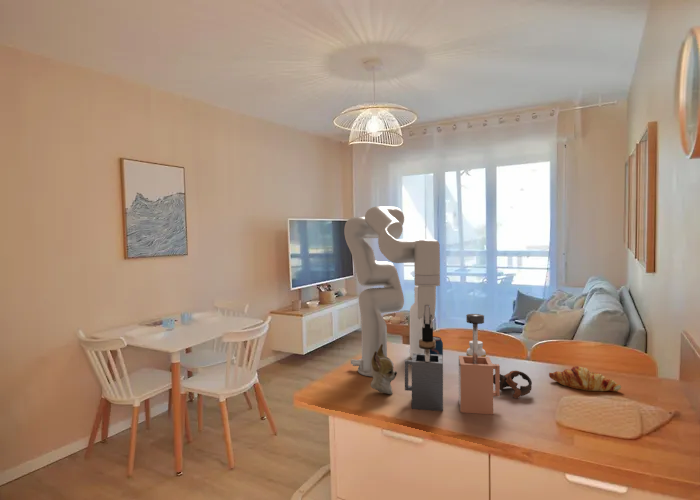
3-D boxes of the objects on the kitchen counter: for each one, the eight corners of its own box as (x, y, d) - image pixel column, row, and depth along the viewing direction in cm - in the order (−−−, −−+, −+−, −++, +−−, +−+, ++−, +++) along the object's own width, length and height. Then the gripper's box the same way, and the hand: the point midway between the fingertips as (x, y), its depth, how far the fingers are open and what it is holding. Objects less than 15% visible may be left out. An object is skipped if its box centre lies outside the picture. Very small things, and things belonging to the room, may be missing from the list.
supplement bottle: (483, 374, 152) (483, 339, 152) (487, 380, 145) (487, 344, 145) (465, 374, 153) (465, 339, 152) (468, 380, 146) (468, 344, 146)
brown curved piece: (524, 389, 139) (533, 372, 134) (526, 411, 131) (536, 394, 126) (487, 378, 141) (495, 361, 136) (488, 399, 133) (496, 382, 128)
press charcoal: (404, 408, 123) (403, 361, 122) (405, 396, 132) (405, 353, 131) (442, 410, 121) (442, 363, 120) (442, 399, 129) (442, 354, 129)
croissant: (619, 400, 136) (619, 375, 139) (622, 395, 128) (622, 369, 131) (548, 387, 147) (550, 365, 150) (547, 382, 139) (548, 358, 142)
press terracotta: (460, 412, 120) (460, 364, 119) (458, 400, 128) (458, 355, 128) (501, 415, 117) (501, 366, 117) (496, 402, 126) (496, 357, 126)
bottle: (409, 354, 179) (408, 285, 178) (427, 354, 178) (427, 285, 177) (410, 359, 171) (409, 287, 170) (429, 360, 170) (429, 287, 169)
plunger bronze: (417, 402, 124) (417, 342, 123) (418, 395, 129) (417, 337, 129) (437, 404, 122) (437, 343, 122) (437, 396, 128) (436, 338, 128)
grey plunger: (465, 378, 121) (465, 317, 120) (464, 372, 126) (464, 313, 126) (486, 380, 120) (486, 317, 119) (484, 373, 125) (484, 313, 125)
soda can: (422, 370, 157) (422, 339, 157) (426, 365, 163) (426, 335, 163) (441, 372, 154) (441, 340, 154) (444, 367, 161) (444, 336, 160)
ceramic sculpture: (394, 401, 128) (393, 353, 128) (366, 398, 131) (366, 351, 130) (400, 388, 138) (399, 344, 138) (374, 386, 141) (374, 342, 140)
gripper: (415, 278, 133) (416, 334, 133) (413, 282, 118) (414, 346, 119) (439, 278, 131) (439, 335, 132) (440, 283, 117) (440, 347, 117)
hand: (427, 340), depth 125 cm, fingers closed
